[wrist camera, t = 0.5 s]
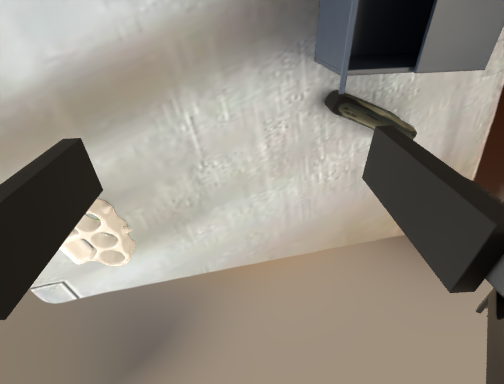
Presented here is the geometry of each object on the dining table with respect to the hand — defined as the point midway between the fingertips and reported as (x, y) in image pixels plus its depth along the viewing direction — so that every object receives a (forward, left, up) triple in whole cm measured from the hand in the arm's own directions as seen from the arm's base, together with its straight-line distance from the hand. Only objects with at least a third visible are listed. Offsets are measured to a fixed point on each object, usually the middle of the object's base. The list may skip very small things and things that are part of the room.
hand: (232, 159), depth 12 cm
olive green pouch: (+7, +20, -27) cm, 34 cm away
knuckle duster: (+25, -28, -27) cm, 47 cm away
